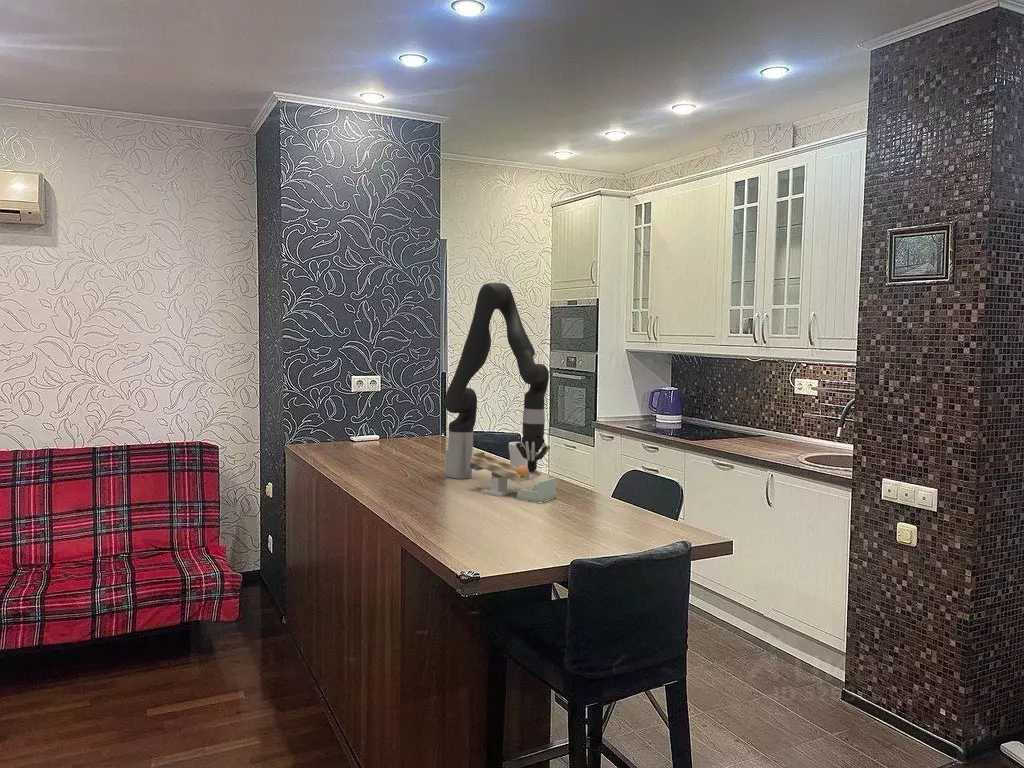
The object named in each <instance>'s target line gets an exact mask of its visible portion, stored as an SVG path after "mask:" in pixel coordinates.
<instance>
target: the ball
mask: <svg viewBox="0 0 1024 768" xmlns="http://www.w3.org/2000/svg"><path fill="white" fill-rule="evenodd" d="M528 473H529V469H528V467H527V466H525V465H521V466H519V467H518V468H517V474H518V475H521V477H525V476H527V475H528Z"/></svg>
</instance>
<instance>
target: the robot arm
mask: <svg viewBox="0 0 1024 768" xmlns="http://www.w3.org/2000/svg"><path fill="white" fill-rule="evenodd" d="M495 310H499V311H500V313H501V315H502V316H503V319H504V321H505V325H506V337H507V338H506V339H507V343H508V345H509V347H510V349H511V351H512V353H513V355H514V357H515V359H516V362H517V368H518V371H519V375H520V377H521V379H522V381H524V383H526V384H527V385H529V390H528V391H527V392H524V393H525V394H524V398H523V402H524V403H523V413H522V437H521V441H518V442H519V443H517V444H516V446H517V448H518V450H519V452H520V453H521V455H522V457H523V458H525V459H527V460H528V469H529V471H530V472H534V471H537V466H538V461H540V460H542V459H543V458H544V457H545V455H546V454H547V453H548V452H549V450H551V447H550V445H547V444H546V443H545V437H544V436H545V421H546V420H545V417H546V414H545V397H546V394H547V393H546V392H547V389H548V385H549V380H550V373H549V370H548V367H547V366H546V365H544V364H541V363H536V362H535V358H534V356H535V355H536V351H535V348H534V346H533V345H532V342H531V340H530V338H529V336H528V334H527V332H526V329H525V328H524V326H523V323H522V319H521V317H520V316H521V315H520V314H519V310H518V307H517V305H516V301H515V297H514V295H513V292H512V289H510V287H509V285H507V283H503V282H487V283H484V284H483V285H482V286H481V288H480V289H479V291H478V294H477V297H476V303H475V309H474V312H473V317H472V320H471V323H470V327H469V330H468V334H467V337H466V339H465V342H464V345H463V347H462V352H461V355H460V359H459V361H458V363H457V367H456V370H455V372H454V375H453V377H452V380H451V382H450V384H449V386H448V388H447V391H446V393H445V397H444V406H445V410H447V412H448V413H450V414H458V416H457V418H455V419H454V420H452V421H450V422H449V424H448V440H447V442H448V443H447V449H446V451H445V456H444V457H445V458H444V459H445V462H444V463H445V464H444V465H445V468H444V476H445V477H447V478H450V479H458V480H459V479H461V480H463V479H464V480H465V479H470V478H472V476H473V469H471V468H470V465H471V463H470V461H471V457H472V456H473V454H474V453H473V452H474V451H473V450H474V448H473V447H474V427H475V425H476V420H477V409H478V408H477V407H478V398H477V394H476V391H475V390H474V389H472V388H471V387H468V385H469V383H470V381H471V380H472V379H473V377H474V376H475V375H476V374H477V373H478V372H479V371H480V370H481V369H482V368H483V366H484V365H485V363H486V361H487V359H488V356H489V354H490V351H491V347H492V339H491V337H492V336H491V332H490V324H491V320H492V317H493V315H494V314H493V313H494V312H495ZM524 446H525V447H524ZM525 448H526V449H525Z"/></svg>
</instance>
